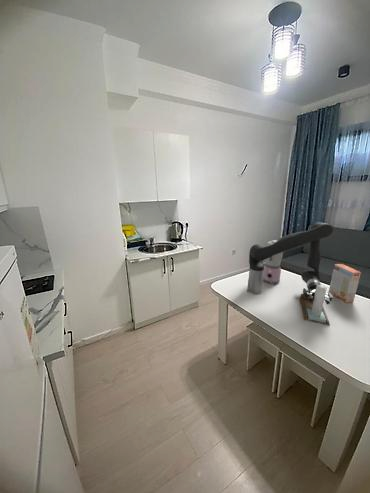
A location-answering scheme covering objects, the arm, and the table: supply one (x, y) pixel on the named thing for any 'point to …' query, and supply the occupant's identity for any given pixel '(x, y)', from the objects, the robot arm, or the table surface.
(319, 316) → the keeper
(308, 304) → the rail board
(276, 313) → the table surface
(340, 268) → the cracker box
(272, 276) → the blender
